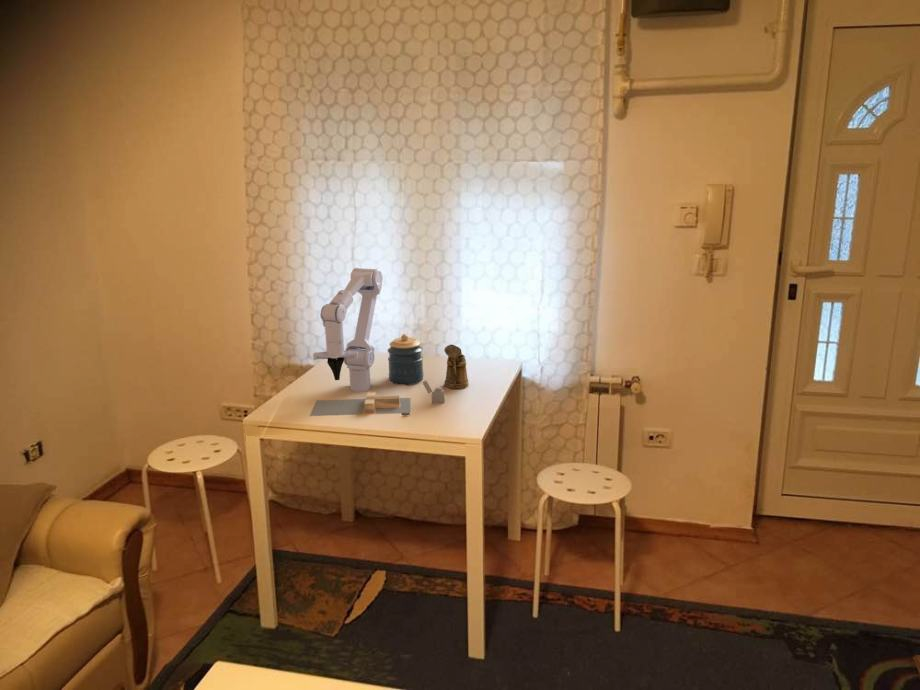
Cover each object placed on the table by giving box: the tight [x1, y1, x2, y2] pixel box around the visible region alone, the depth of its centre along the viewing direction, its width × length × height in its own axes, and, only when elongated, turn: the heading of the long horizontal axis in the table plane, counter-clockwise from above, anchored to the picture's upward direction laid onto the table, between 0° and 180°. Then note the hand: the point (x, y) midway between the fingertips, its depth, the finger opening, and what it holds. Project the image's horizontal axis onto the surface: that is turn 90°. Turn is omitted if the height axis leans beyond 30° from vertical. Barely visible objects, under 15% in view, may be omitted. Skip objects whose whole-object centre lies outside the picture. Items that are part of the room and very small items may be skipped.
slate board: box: [309, 397, 411, 417], centre depth 230 cm, size 14×32×1 cm, turn 93°
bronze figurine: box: [444, 344, 469, 390], centre depth 247 cm, size 9×14×18 cm, turn 170°
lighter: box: [422, 380, 445, 405], centre depth 234 cm, size 7×2×8 cm, turn 94°
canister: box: [387, 333, 425, 386], centre depth 256 cm, size 13×13×18 cm
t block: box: [364, 391, 400, 413], centre depth 230 cm, size 12×11×3 cm
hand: (337, 379), depth 231 cm, fingers closed
